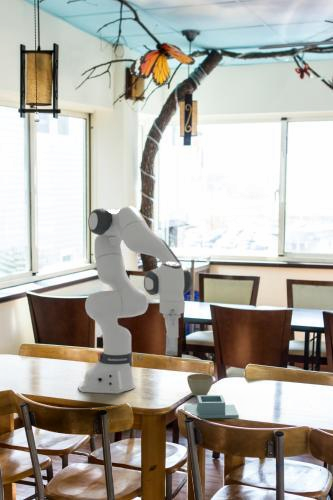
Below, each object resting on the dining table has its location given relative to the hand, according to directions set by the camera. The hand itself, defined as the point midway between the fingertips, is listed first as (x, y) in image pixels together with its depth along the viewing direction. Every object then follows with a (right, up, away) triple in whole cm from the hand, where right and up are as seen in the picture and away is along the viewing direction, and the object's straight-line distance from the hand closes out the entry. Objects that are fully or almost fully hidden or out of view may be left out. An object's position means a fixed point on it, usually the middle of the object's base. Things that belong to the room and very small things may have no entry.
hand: (171, 345), depth 254 cm
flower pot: (+11, -22, +19) cm, 31 cm away
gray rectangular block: (0, -3, +1) cm, 3 cm away
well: (+14, -23, -2) cm, 27 cm away
